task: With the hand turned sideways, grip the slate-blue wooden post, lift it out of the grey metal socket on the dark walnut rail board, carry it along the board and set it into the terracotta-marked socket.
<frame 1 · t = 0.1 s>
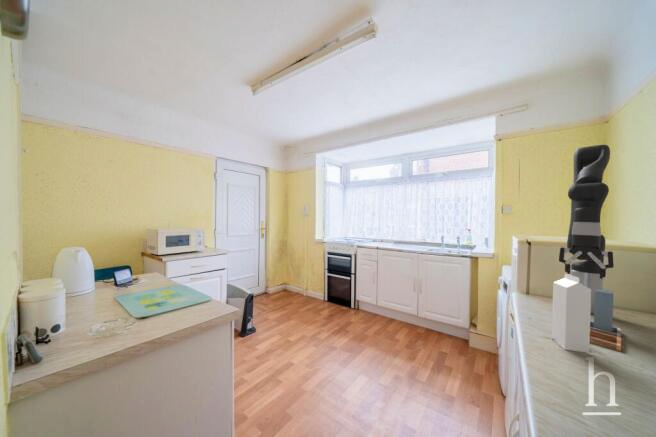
hand: (584, 276, 91), 17 cm above the worktop, tool pointing down, fingers open, 8 cm apart
milk: (569, 346, 73), on the worktop
post: (602, 331, 80), point 1 cm above the worktop, touching socket board
socket board: (602, 339, 77), on the worktop
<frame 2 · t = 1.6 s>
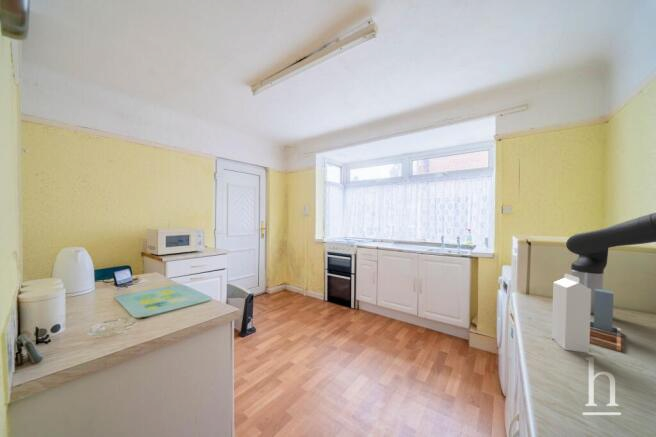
nothing on the worktop moved.
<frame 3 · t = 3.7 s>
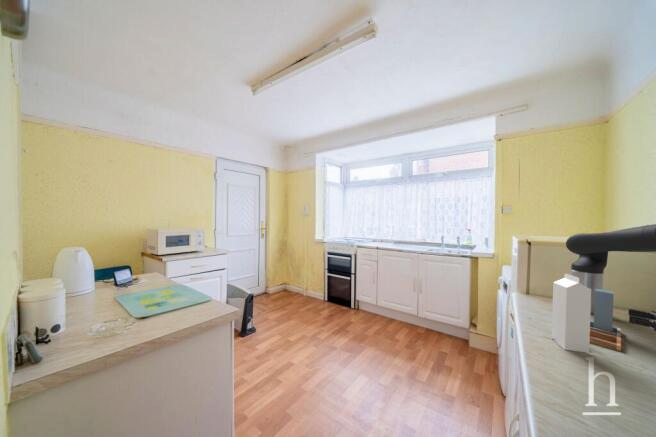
hand: (628, 315, 76), 8 cm above the worktop, tool horizontal, fingers open, 8 cm apart
nothing on the worktop moved.
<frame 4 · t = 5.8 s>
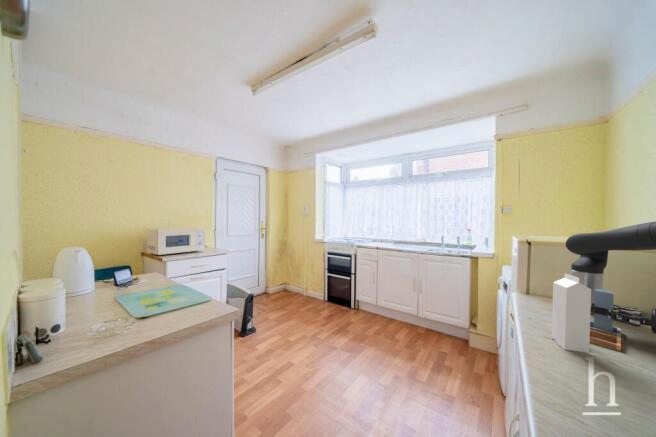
hand: (591, 307, 82), 8 cm above the worktop, tool horizontal, fingers closed on post, 4 cm apart
post: (602, 331, 80), point 1 cm above the worktop, touching gripper, socket board
everything else where it was.
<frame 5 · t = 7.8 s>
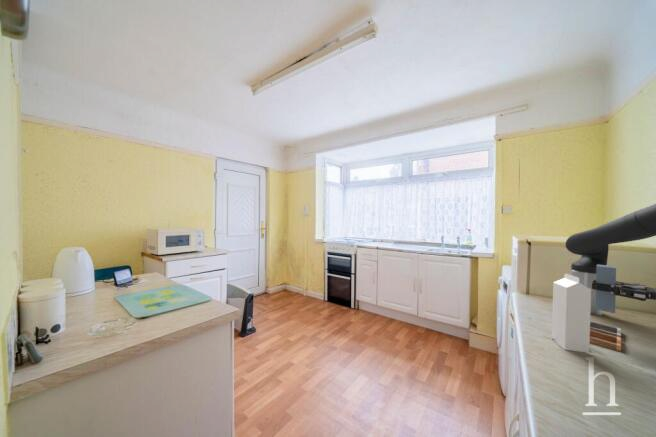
hand: (592, 284, 77), 18 cm above the worktop, tool horizontal, fingers closed on post, 4 cm apart
post: (605, 309, 75), point 10 cm above the worktop, touching gripper
everything else where it was.
when the fingers open (10 cm above the worktop, at t = 10.0 s): post drops 1 cm, resting on socket board.
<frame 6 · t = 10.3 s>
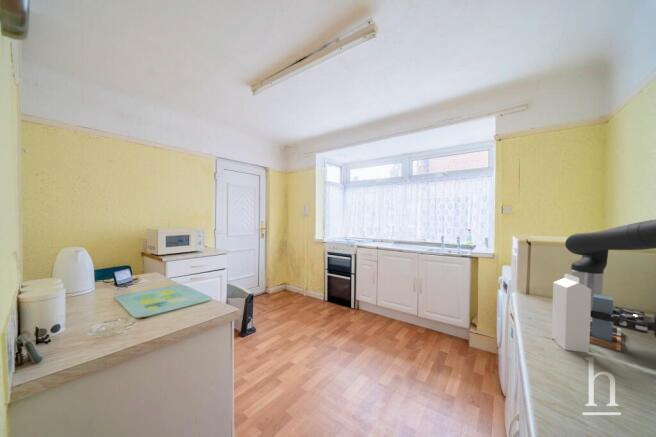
hand: (591, 310, 75), 10 cm above the worktop, tool horizontal, fingers open, 7 cm apart
post: (601, 341, 74), point 1 cm above the worktop, touching socket board
everything else where it was.
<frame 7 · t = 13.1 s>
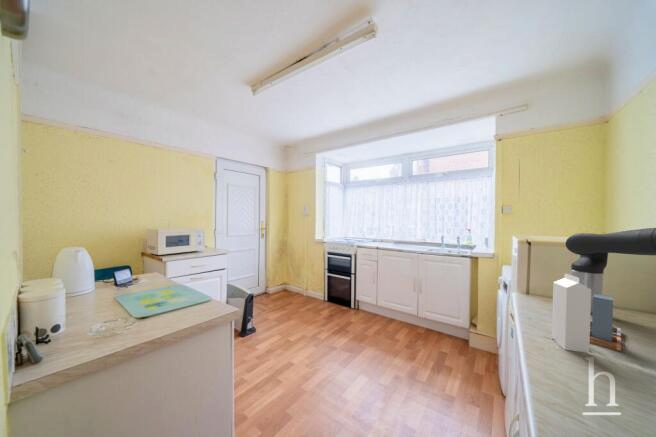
nothing on the worktop moved.
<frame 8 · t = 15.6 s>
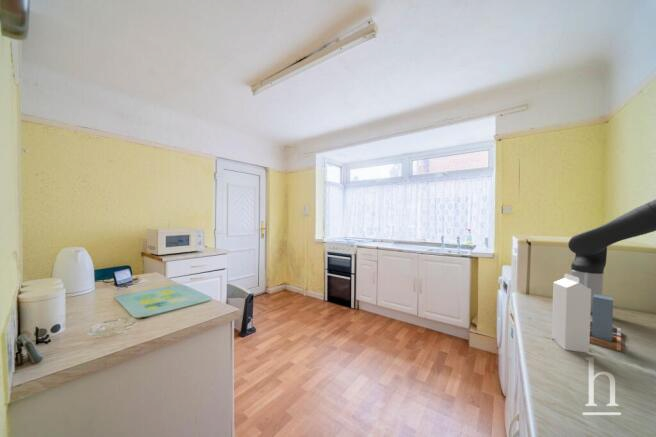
nothing on the worktop moved.
at the end: post 0.0 cm from the target spot on the socket board, point 1.0 cm above the socket board's base; post tilted 0°; the gripper is holding nothing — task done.
